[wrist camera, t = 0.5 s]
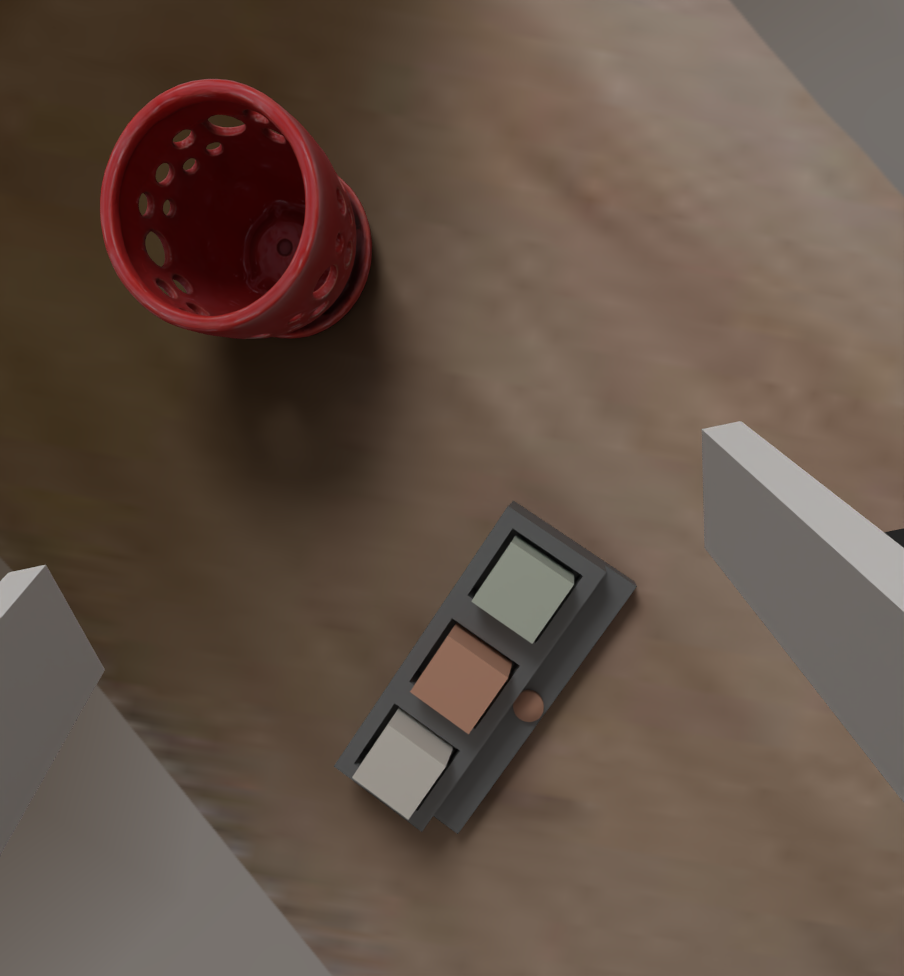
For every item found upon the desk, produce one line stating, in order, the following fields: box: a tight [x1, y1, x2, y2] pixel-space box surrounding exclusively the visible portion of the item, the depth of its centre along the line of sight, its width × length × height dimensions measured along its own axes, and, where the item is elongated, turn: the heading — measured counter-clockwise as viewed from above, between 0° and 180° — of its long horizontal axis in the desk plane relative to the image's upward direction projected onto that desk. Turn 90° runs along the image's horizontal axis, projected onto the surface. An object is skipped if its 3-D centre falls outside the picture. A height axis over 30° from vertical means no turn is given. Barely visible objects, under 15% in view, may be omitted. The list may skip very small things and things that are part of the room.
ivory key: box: [352, 707, 454, 820], centre depth 44 cm, size 4×4×3 cm
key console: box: [334, 501, 637, 834], centre depth 45 cm, size 10×21×4 cm, turn 146°
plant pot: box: [100, 79, 372, 339], centre depth 41 cm, size 13×13×12 cm
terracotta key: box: [410, 623, 512, 734], centre depth 43 cm, size 4×4×3 cm
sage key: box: [471, 535, 574, 643], centre depth 42 cm, size 4×4×3 cm
